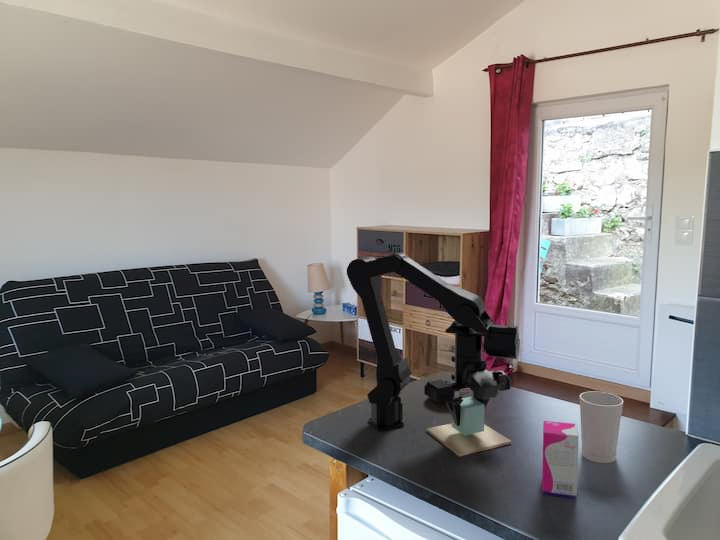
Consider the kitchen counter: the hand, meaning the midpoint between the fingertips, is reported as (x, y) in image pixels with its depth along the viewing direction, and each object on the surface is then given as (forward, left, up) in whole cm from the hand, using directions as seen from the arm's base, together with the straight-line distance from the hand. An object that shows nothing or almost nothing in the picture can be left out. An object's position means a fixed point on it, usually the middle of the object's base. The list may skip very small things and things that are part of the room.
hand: (467, 423), depth 116 cm
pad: (0, 0, -3) cm, 3 cm away
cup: (+19, -18, -3) cm, 26 cm away
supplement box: (+3, -24, -3) cm, 24 cm away
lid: (+8, +20, -4) cm, 22 cm away
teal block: (0, 0, -1) cm, 1 cm away
